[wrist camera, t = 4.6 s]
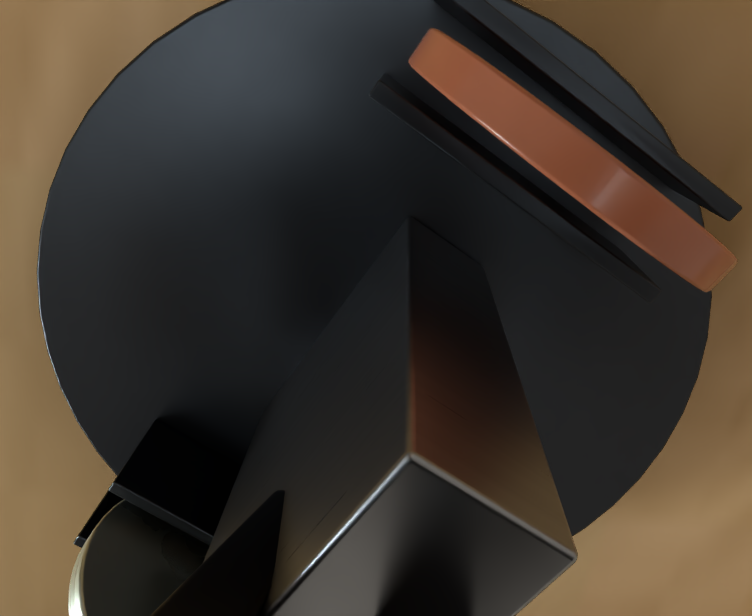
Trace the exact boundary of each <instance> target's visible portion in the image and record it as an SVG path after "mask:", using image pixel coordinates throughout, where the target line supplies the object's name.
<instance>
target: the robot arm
mask: <svg viewBox="0 0 752 616" xmlns="http://www.w3.org/2000/svg"><path fill="white" fill-rule="evenodd" d="M284 496H285V490H277V491H275V492H274V493H273V494H272V495H271V496H270V497H269V498H268V499H267V500H266V501H265V502H264V503H263V504H261V505H260V506H259V507H258V508H257V509H256V510H255V511H254V512H253V513H252V514H251V515H250V516H249V517H248V518H247V519H246V520H245V521H244V522H243V523H242V524H241V525H240V526H239V527H238V528H237V529H236V530H235V531H234V532H233V533H232V534H231V535H230V536H229V537H228V538H227V539H226V540H225V541H224V542H223V543H222V544H221V545H220V546H219V547H218V548H217V549H216V550H215V551H214V552H213V553H212V554H211V555H210V556H209V557H208V558H207V559H206V560H205V561H204V562H203V563H202V564H201V565H200V566H199V567H198V568H197V569H196V570H195V571H194V572H193V573H192V574H191V575H190V576H189V577H188V578H187V579H186V580H185V581H184V582H183V583H182V584H181V585H180V586H179V587H178V588H177V589H176V590H175V591H174V592H173V593H172V594H171V595H170V596H169V597H168V598H167V599H166V600H165V601H164V602H163V603H162V604H161V605H160V606H159V607H158V608H157V609H156V610H155V611H154V612H153V613H152V614H151V615H150V616H260V615H261V612H262V609H263V606H264V604H265V601H266V598H267V595H268V592H269V589H270V585H271V581H272V577H273V573H274V568H275V562H276V555H277V548H278V540H279V533H280V525H281V518H282V511H283V503H284Z"/></svg>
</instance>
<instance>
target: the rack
mask: <svg viewBox="0 0 752 616" xmlns="http://www.w3.org/2000/svg"><path fill="white" fill-rule="evenodd" d="M699 205H700V206H702V207H704V208H706V209H707V210H709V211H711V212H713V213H714V214H716V215H718V216H720V217H722V218H723V219H725V220H727V221H731V220H732V219H733V218H734V217H735V216H736V215H737V213H738V212H739V211H740V210H741V209H742V207H741V205H739V204H738V203H737V202H736V201H734V200H733V199H732V198H731V197H729V196H728V195H727V194H726V193H724V192H723V191H722V190H721V189H719V188H718V187H717V186H716V185H714V184H713V183H712V182H711V181H709V180H708V179H707V178H706V177H705V176H703V175H702V174H701V173H700V172H698V171H697V170H696V169H695V168H693V167H692V166H691V165H690V164H688V163H687V162H686V161H685V160H683V159H682V158H681V157H680V156H679V154H678V153H677V151H676V149H675V147H674V145H673V144H672V142H671V140H670V138H669V136H668V134H667V133H666V131H665V129H664V127H663V125H662V124H661V123H660V121H659V120H658V119H657V117H656V116H655V115H654V114H653V112H652V111H651V110H650V108H649V107H648V106H647V105H646V103H645V102H644V101H643V99H642V98H641V97H640V95H639V94H638V93H637V92H636V90H635V89H634V88H633V86H632V85H631V84H630V83H629V82H628V81H626V80H625V79H624V78H623V77H622V76H621V75H620V74H619V73H618V72H617V71H616V70H615V69H614V68H613V67H612V66H611V65H610V64H609V63H608V62H607V61H606V60H604V59H603V58H602V57H601V56H600V55H599V54H598V53H597V52H596V51H595V50H593V49H592V48H591V47H589V46H588V45H586V44H585V43H583V42H582V41H581V40H579V39H578V38H576V37H575V36H573V35H572V34H571V33H569V32H568V31H566V30H565V29H564V28H562V27H561V26H559V25H558V24H556V23H555V22H554V21H552V20H550V19H548V18H546V17H544V16H542V15H540V14H538V13H536V12H534V11H532V10H530V9H528V8H526V7H524V6H522V5H520V4H518V3H516V2H514V1H512V0H224V1H221V2H219V3H217V4H215V5H213V6H211V7H208V8H206V9H204V10H202V11H200V12H198V13H195V14H194V15H192V16H191V17H189V18H188V19H186V20H185V21H183V22H182V23H180V24H179V25H177V26H176V27H174V28H173V29H171V30H170V31H168V32H166V33H165V34H163V35H162V36H160V37H159V38H157V39H156V40H154V41H153V42H152V43H151V44H150V45H149V46H147V47H146V48H145V49H144V50H143V51H142V52H141V53H140V54H139V55H138V56H136V57H135V58H134V59H133V60H132V61H131V62H130V63H129V64H128V65H127V66H125V67H124V68H123V69H122V70H121V71H120V72H119V73H118V74H117V75H116V76H115V77H114V79H113V80H112V81H111V82H110V84H109V85H108V86H107V87H106V89H105V90H104V91H103V92H102V93H101V95H100V96H99V97H98V98H97V100H96V101H95V102H94V103H93V105H92V106H91V107H90V108H89V110H88V111H87V113H86V115H85V116H84V118H83V120H82V122H81V123H80V125H79V127H78V128H77V130H76V132H75V134H74V135H73V137H72V139H71V140H70V142H69V144H68V146H67V147H66V149H65V152H64V154H63V157H62V159H61V162H60V164H59V167H58V170H57V172H56V175H55V177H54V180H53V182H52V185H51V187H50V190H49V195H48V199H47V203H46V208H45V212H44V216H43V221H42V225H41V230H40V239H39V252H38V265H37V281H38V296H39V312H40V317H41V322H42V327H43V332H44V336H45V341H46V346H47V351H48V354H49V357H50V360H51V362H52V365H53V368H54V371H55V374H56V377H57V380H58V383H59V385H60V388H61V390H62V392H63V394H64V396H65V398H66V400H67V402H68V404H69V406H70V408H71V410H72V412H73V414H74V416H75V418H76V420H77V422H78V423H79V425H80V427H81V428H82V430H83V431H84V433H85V434H86V436H87V437H88V439H89V440H90V442H91V443H92V445H93V446H94V448H95V449H96V451H97V452H98V454H99V455H100V456H101V457H102V458H103V460H104V461H105V462H106V463H107V464H108V465H109V467H110V468H111V469H112V470H113V471H114V473H115V474H116V475H117V477H116V479H115V480H114V482H113V483H112V485H111V486H110V488H109V490H108V491H107V493H106V494H105V496H104V497H103V499H102V500H101V502H100V503H99V505H98V506H97V508H96V509H95V511H94V512H93V514H92V515H91V517H90V518H89V520H88V521H87V523H86V524H85V526H84V527H83V529H82V530H81V532H80V533H79V535H78V536H77V538H76V539H75V541H74V544H75V545H77V546H79V547H81V548H82V549H81V551H80V553H79V555H78V557H77V560H76V562H75V565H74V568H73V571H72V576H71V581H70V586H69V601H68V609H69V616H150V615H151V614H152V613H153V612H154V611H155V610H156V609H157V608H158V607H159V606H160V605H161V604H162V603H163V602H164V601H165V600H166V599H167V598H168V597H169V596H170V595H171V594H172V593H173V592H174V591H175V590H176V589H177V588H178V587H179V586H180V585H181V584H182V583H183V582H184V581H185V580H186V579H187V578H188V577H189V576H190V575H191V574H192V573H193V572H194V571H195V570H196V569H197V568H198V567H199V566H200V565H201V564H202V563H203V562H204V561H205V560H206V559H207V558H208V557H209V556H210V555H211V554H212V553H213V552H214V551H215V550H216V549H217V548H218V547H219V546H220V545H221V544H222V543H223V542H224V541H225V540H226V539H227V538H228V537H229V536H230V535H231V534H232V533H233V532H234V531H235V530H236V529H237V528H238V527H239V526H240V525H241V524H242V523H243V522H244V521H245V520H246V519H247V518H248V517H249V516H250V515H251V514H252V513H253V512H254V511H255V510H256V509H257V508H258V507H259V506H260V505H261V504H263V503H264V502H265V501H266V500H267V499H268V498H269V497H270V496H271V495H272V494H273V493H274V492H275V491H277V490H285V496H284V503H283V511H282V518H281V525H280V533H279V540H278V548H277V555H276V562H275V568H274V573H273V577H272V581H271V585H270V589H269V592H268V595H267V598H266V601H265V604H264V606H263V609H262V612H261V615H260V616H515V615H516V614H518V613H519V612H520V611H521V610H522V609H523V608H524V607H525V606H527V605H528V604H529V603H530V602H531V601H532V600H533V599H534V598H536V597H537V596H538V595H539V594H540V593H541V592H542V591H543V590H545V589H546V588H547V587H548V586H549V585H550V584H551V583H552V582H554V581H555V580H556V579H557V578H558V577H559V576H560V575H561V574H563V573H564V572H565V571H566V570H567V569H568V568H569V567H570V566H572V565H573V564H574V563H575V561H576V560H577V556H578V553H577V550H576V547H575V544H574V541H573V538H572V536H574V535H575V534H577V533H578V532H580V531H581V530H583V529H585V528H586V527H587V526H588V525H590V524H591V523H592V522H593V521H595V520H596V519H597V518H598V517H600V516H601V515H602V514H603V513H605V512H606V511H607V510H608V509H610V508H611V507H612V506H613V505H614V504H615V503H616V502H617V501H618V500H619V499H620V498H621V497H622V496H623V495H624V494H625V493H626V492H627V491H628V490H629V489H630V488H631V487H632V486H633V485H634V484H635V483H636V482H637V481H638V480H639V479H640V478H641V477H642V475H643V474H644V473H645V471H646V470H647V469H648V467H649V466H650V465H651V463H652V462H653V461H654V459H655V458H656V457H657V455H658V454H659V453H660V452H661V450H662V449H663V448H664V446H665V444H666V442H667V441H668V439H669V437H670V435H671V434H672V432H673V430H674V428H675V427H676V425H677V423H678V421H679V420H680V418H681V416H682V414H683V412H684V410H685V407H686V405H687V402H688V400H689V397H690V395H691V392H692V390H693V388H694V385H695V383H696V380H697V378H698V374H699V370H700V366H701V362H702V358H703V354H704V350H705V346H706V342H707V338H708V328H709V318H710V308H711V298H712V293H711V290H712V289H713V288H714V287H715V286H716V285H717V284H718V283H719V282H720V281H721V280H722V279H723V278H724V277H725V276H726V275H727V274H728V273H729V272H730V271H731V270H732V269H733V268H734V267H735V266H736V264H737V262H738V260H737V258H736V257H735V256H734V254H733V253H732V252H731V251H730V250H729V249H728V248H726V247H725V246H724V245H723V244H722V243H721V242H720V241H719V240H717V239H716V238H715V237H714V236H713V235H712V234H710V233H709V232H708V231H707V230H706V229H705V227H704V223H703V218H702V213H701V208H700V206H699Z"/></svg>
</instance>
